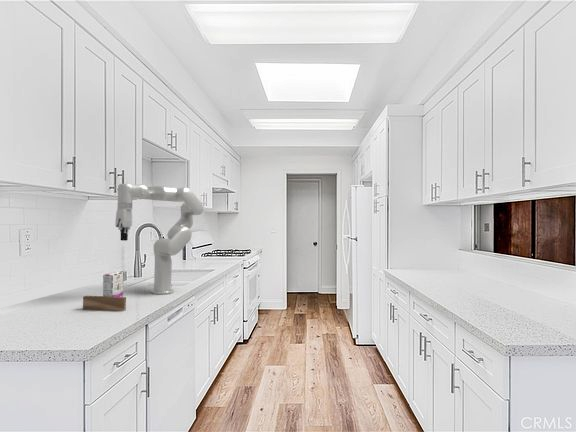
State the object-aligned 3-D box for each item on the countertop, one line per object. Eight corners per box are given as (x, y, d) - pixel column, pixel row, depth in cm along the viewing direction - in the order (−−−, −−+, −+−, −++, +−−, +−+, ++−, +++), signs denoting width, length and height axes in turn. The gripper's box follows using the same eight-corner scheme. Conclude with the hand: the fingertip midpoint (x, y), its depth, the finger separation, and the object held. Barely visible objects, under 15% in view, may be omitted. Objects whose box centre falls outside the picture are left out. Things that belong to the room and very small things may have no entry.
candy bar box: (113, 304, 203) (114, 271, 203) (123, 304, 203) (124, 271, 203) (101, 309, 192) (102, 274, 192) (112, 309, 191) (112, 274, 192)
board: (85, 308, 193) (85, 295, 193) (125, 310, 191) (126, 297, 191) (82, 309, 191) (83, 296, 191) (123, 310, 189) (123, 297, 189)
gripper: (125, 207, 228) (124, 239, 228) (111, 205, 213) (110, 240, 213) (137, 207, 228) (137, 240, 227) (124, 206, 213) (123, 241, 212)
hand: (124, 240), depth 220 cm, fingers closed
